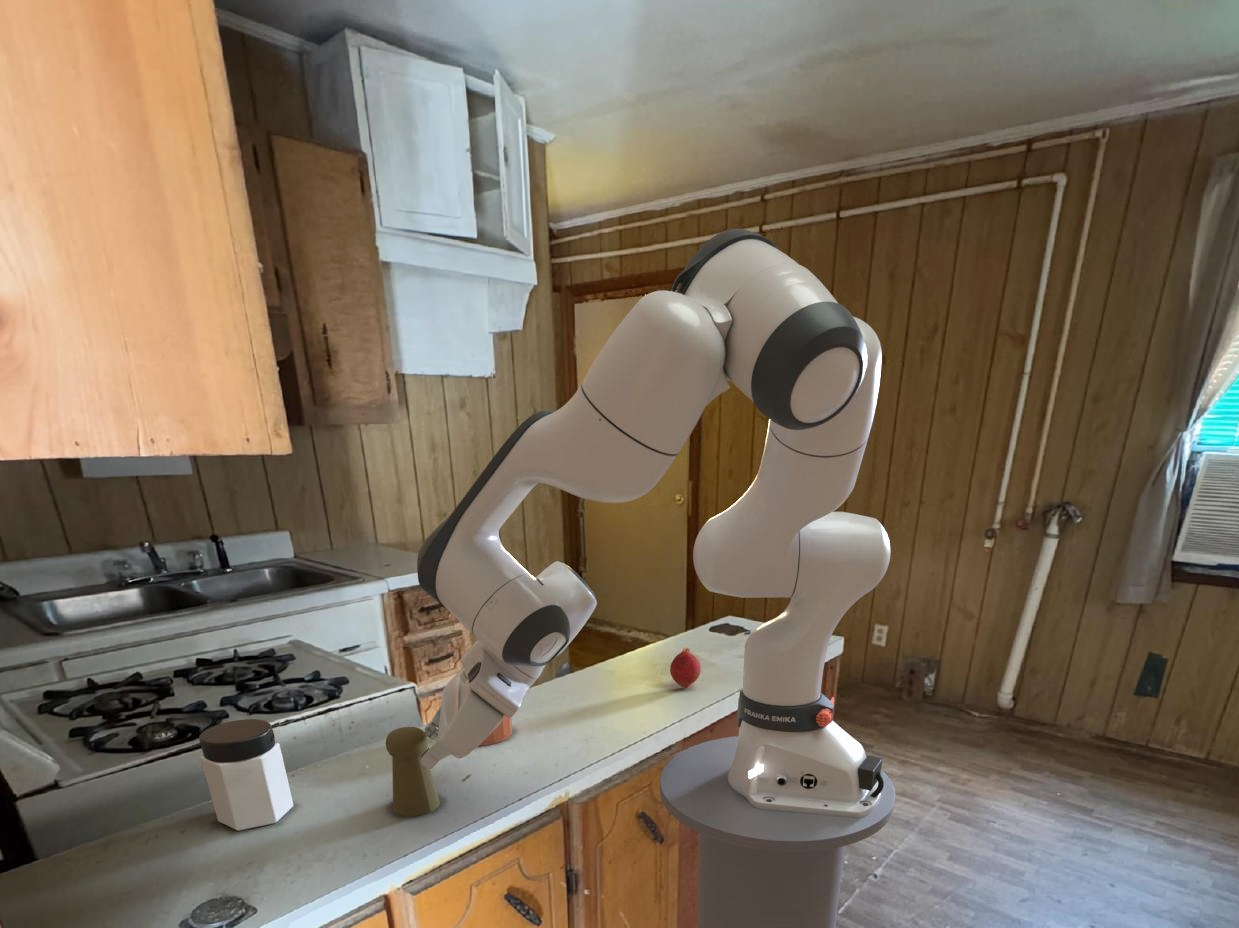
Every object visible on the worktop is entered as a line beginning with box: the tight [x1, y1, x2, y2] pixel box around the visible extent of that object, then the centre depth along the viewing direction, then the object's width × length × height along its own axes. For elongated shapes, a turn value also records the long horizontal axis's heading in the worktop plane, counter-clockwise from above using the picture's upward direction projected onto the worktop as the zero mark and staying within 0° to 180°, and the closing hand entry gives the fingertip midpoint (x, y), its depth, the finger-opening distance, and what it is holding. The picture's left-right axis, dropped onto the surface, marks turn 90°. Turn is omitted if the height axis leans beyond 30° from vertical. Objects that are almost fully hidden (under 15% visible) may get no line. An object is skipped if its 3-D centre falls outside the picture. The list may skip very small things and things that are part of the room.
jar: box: [198, 718, 294, 832], centre depth 95 cm, size 9×8×12 cm
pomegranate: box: [669, 646, 702, 689], centre depth 141 cm, size 6×6×8 cm
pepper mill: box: [385, 726, 441, 817], centre depth 97 cm, size 6×6×11 cm
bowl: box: [477, 715, 513, 747], centre depth 121 cm, size 10×10×4 cm
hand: (426, 749), depth 96 cm, fingers open, 8 cm apart
